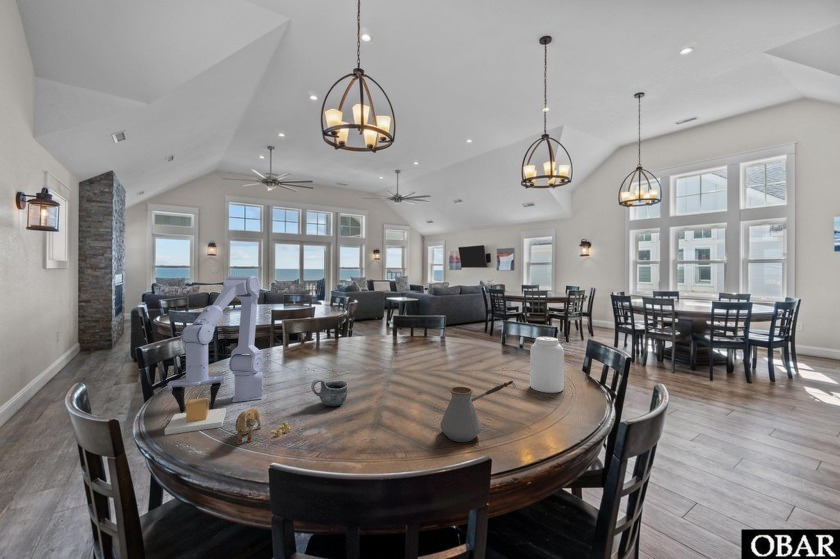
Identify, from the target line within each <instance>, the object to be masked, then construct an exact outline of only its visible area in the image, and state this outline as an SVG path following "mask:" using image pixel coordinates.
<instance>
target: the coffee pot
mask: <svg viewBox="0 0 840 559" xmlns="http://www.w3.org/2000/svg"><path fill="white" fill-rule="evenodd" d="M509 385H512V386H513V387H514V388H516V387H517V386H516V384H515V382H514V381H513V380H510V381H508V382H504V383H503V384H500V385H497V386H495V387H492V388H490V389H489V390H487V391H485V392H484V393H481V394H479V395H477V396H474V397H471V396H472V394H473V392H474V391H473V389H472V388H470V387H467V386H453V387H450V388H449V393H451V398H450V399H449V400H450V401H449V403H448V405H447V407H446V410H445V412H444V414H443V416H442V418H441V419H442V420H440V421H441V422H440V425H439V426H440V429H441V431H442V433H443V434H444V435H445V436H447V438H448V439H449V440H451V441H454V442H459V443H465V442H471V441H473V440H474V439H475V438H476V437H477V436H478V435H480V433H481V431H482V428H483V426H482V423H481V421H480V419H479V417H478V414H477V412H476V409H475V407H474V403H473V402H475V401H477V400H479V399H481V398H484V397H485V396H488V395H491V394H493V393H496V392H499V391H501V390H502V389H504V388H507V387H508V386H509Z"/></svg>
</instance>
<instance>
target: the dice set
mask: <svg viewBox="0 0 840 559" xmlns="http://www.w3.org/2000/svg"><path fill="white" fill-rule="evenodd" d="M283 432H284V433H285V434H289V433H291V426H289V423H288V422H283V423H282V425H280V426H279V429H276V430H274V429H273V430H271V432H270V433H271V434H275V435H276V437H278V438H279V437H282V435H283Z"/></svg>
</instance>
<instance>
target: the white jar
mask: <svg viewBox="0 0 840 559" xmlns="http://www.w3.org/2000/svg"><path fill="white" fill-rule="evenodd" d="M529 350H530V351H529V352H530V356H529V359H530V360H529V386H530V388H531V389H533V390H534V391H537V392H541V393H550V394H555V393H559V392H562V391H563V390H564V387H565V386H564V385H565V384H564V383H565V380H564V379H565V376H564V374H565V373H564V372H565V351H564V350H565V349H564V347H563V345H561V344H560V341H559V339H558V338H557V337H553V336H537V337H536V338H535V341H534V343H532V344H531V345H530V349H529Z"/></svg>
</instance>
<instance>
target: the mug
mask: <svg viewBox="0 0 840 559" xmlns="http://www.w3.org/2000/svg"><path fill="white" fill-rule="evenodd" d="M318 383H320V391H319V392H317V391H316V389H315V386H316V385H317V384H318ZM310 387H311V390H312V393H313V394H314V395H316V396H317V397H319V399H320V402H321V403H323V404H324V405H325V406H328V407H338V406H340V405H342V404H343V403H345V401H346V399H347V396H348V387H349V382H347V381H345V380H330V381H325V380H324V378H322V377H317V378H315V379H314V380H313V381H312V382H311V385H310Z"/></svg>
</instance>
